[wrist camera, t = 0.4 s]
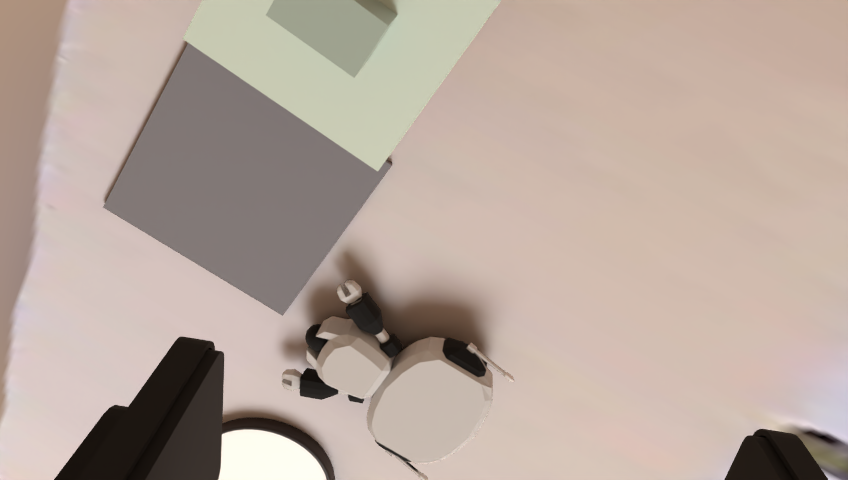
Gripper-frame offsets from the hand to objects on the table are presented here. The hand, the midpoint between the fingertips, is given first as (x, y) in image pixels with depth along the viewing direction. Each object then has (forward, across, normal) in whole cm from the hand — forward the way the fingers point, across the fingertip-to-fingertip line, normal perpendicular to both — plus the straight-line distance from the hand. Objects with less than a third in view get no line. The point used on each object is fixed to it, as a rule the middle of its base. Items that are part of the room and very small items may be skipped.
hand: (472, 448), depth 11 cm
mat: (+33, +14, +9) cm, 37 cm away
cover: (+28, +7, -4) cm, 29 cm away
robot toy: (+34, +1, +22) cm, 40 cm away
